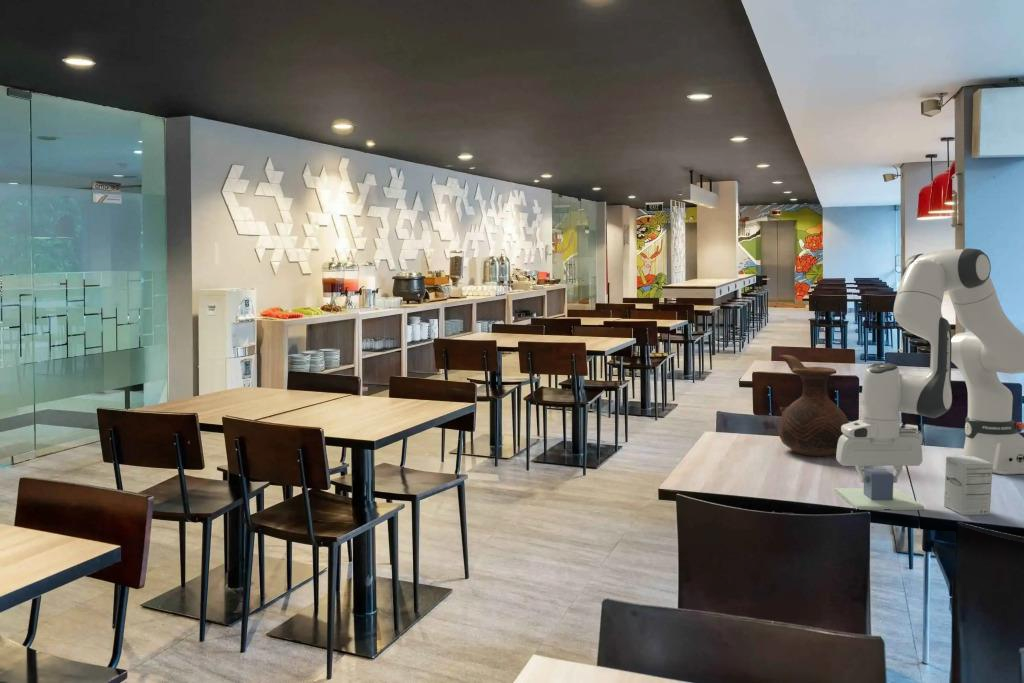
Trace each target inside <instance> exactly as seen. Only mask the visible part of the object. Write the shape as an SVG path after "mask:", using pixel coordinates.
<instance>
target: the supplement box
mask: <svg viewBox="0 0 1024 683" xmlns="http://www.w3.org/2000/svg"><path fill="white" fill-rule="evenodd" d="M992 468H993V463H990V462H987V461H985V460H982V459H979V458H977V457H974V456H962V455H960V456H959V455H956V456H955V455H954V456H953V455H952V456H946V457H945V476H944V477H945V478H944V480H945V481H944V494H943V507H945V508H948V509H950V510H952V511H954V512H956V513H958V514H959V515H962V516H975V515H976V516H977V515H980V516H981V515H990V514H991V502H992V500H991V499H992V486H993V485H992V484H993V482H992V481H993V472H992Z"/></svg>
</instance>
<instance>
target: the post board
mask: <svg viewBox="0 0 1024 683" xmlns="http://www.w3.org/2000/svg"><path fill="white" fill-rule="evenodd" d="M835 491H836V492H837V493H836V492H835ZM834 492H835V493H836V494H838V495H839V496H840V497H841V498H842V497H843V498H844V499H843V498H842V499H843V500H845V502H847V501H848V502H849V503H850V506H852V507H853V506H854V507H855V508H856V509H855V508H854V507H853V508H854V509H855V510H857V509H859V510H865V511H870V510H871V511H872V510H873V511H878V510H879V511H885V510H884V509H891V510H890V511H925V506H924V505H922V504H920V503H919V502H918V501H917V500H915V499H913V498H912V497H911V496H909V495H907V494H906V493H904V492H903V491H902V490H900V489H899V488H895V487H893V500H871V499H869V498H868V497H867V496H865V495H864V487H834ZM848 502H847V503H848ZM849 503H848V504H849ZM859 510H858V511H859Z"/></svg>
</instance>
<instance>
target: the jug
mask: <svg viewBox="0 0 1024 683" xmlns="http://www.w3.org/2000/svg"><path fill="white" fill-rule="evenodd" d="M779 359H780V360H782V361H784V362H785V363H786V364H787V365H788V367H789V369H790V370H791V372H792V373H793V374H795V375H798V376H799V377H800V378H801V379H800V380H801V381H802V386H803V387H802V389H803V390H802V394H801V396H800V397H799V398H797V399H796V400H794V401H793V402H791V404H790V405H789V406H786V407H785V406H784V407H781V406H780V407H779V409H780V413H781V418H780V422H779V425H778V428H777V429H778V437H779V438H780V440H781V442H782V444H783V445H785V446H786V447H787V448H789V449H790V450H793V451H795V453H797V454H799V453H800V455H805V456H813V457H827V456H832V455H835V454H836V452H837V444H838V440H839V438H840V436H841V435H843V433H842V431H841V426H842V425H844V424H847V423H850V422H849V420H848V418H847V416H846V414H845V413H844V411H843V410H842V409H841V408H840V407H839V406H838V405H837V404H836V403H835V402H834V401H832V400H831V399H830V398H829V395H828V391H827V388H828V387H827V384H828V379H829V377H830V376H832V375H835V374H837V369H835V368H832V367H824V366H805V365H804V363H803V362H801V361H800V360H799V359H798V358H797V357H795V356H793V355H790V354H789V355H788V354H781V355H779Z"/></svg>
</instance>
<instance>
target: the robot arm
mask: <svg viewBox="0 0 1024 683" xmlns="http://www.w3.org/2000/svg"><path fill="white" fill-rule="evenodd" d="M991 270H992V269H991V262H990V257H989V256H988V255H987V254H986V253H985V252H984V251H983V250H981V249H978V248H969V247H968V248H965V249H960V248H959V249H956V248H955V249H954V248H953V249H942V250H939V251H931V252H927V253H918V254H915V255H911V256H910V257H909V258H908V259H907V260H906V261H905V262H904V264H903V266H902V270H901V275H902V278H901V279H900V282H899V285H898V289H897V292H896V295H895V299H894V304H893V312H892V313H893V317H894V319H895V321H896V322H897V324H898V325H899V326H900V327H901V328H903V329H904V330H905V331H906V332H908V333H910V334H912V335H915V336H916V337H919V338H922V339H924V340H926V341H928V343H929V344H930V366H929V373H928V374H927V375H925V376H922V375H920V376H919V375H912V374H911V375H910V374H909V375H908V374H904V373H900V369H899V366H898V365H896V364H893V363H890V362H879V363H878V362H877V363H871V364H870V365H868V366H867V367H866V368H865V370H864V373H863V374H864V375H863V380H862V387H861V389H862V390H861V400H862V406H863V407H862V411H861V415H860V417H861V418H860V419H857V420H854V421H850V422H849V423H847V424H844V425H842V426H841V431H842V433H843V435H841V436H840V438H839V440H838V444H837V452H836V453H835V454H836V455H835V456H836V457H835V459H836V461H837V462H838V463H839V464H840V465H842V466H844V467H845V466H846V467H847V466H849V467H851V466H852V467H854V466H855V470H856V471H857V473H858V475H859V482H860V484H861V483H862V484H864V483H868V476H867V475H864V471H863V470H864V469H865V467H866V466H867V467H868V466H869V467H870V466H871V467H874V466H877V467H881V466H883V467H886V466H887V467H888V466H889V467H893V468H894V470H893V471H892V472H891V473H892V474H894V476H893V484H897V483H898V477H899V476H900V474H901V473H902V472H903V467H919V466H920V465H921V464H922V463H923V449H922V443H923V432H921V431H920V430H918V429H917V428H913V427H911V428H901V427H900V424H901V423H900V422H901V421H900V420H901V419H900V418H901V415H900V413H905V414H914V415H919V416H923V417H927V418H931V419H937V418H939V417H941V416H943V415H944V414H946V413H948V412H949V411H950V409H951V407H952V402H953V393H952V391H953V390H952V364H954V365H955V367H957V368H958V370H959V371H960V373H961V375H962V377H963V379H964V380H963V381H964V382H965V385H966V389H967V416H966V417H965V425H964V435H965V440H964V446H963V450H962V453H961V456H974V457H977V458H979V459H982V460H985V461H987V462H990V463H993V468H992V474H999V475H1019V474H1020V475H1021V474H1022V475H1023V474H1024V437H1023V436H1022V435H1021V434H1020V433H1018V429H1019V430H1020V431H1024V422H1020V421H1015V420H1014V419H1012V418H1013V416H1012V415H1013V402H1014V398H1013V397H1014V396H1013V394H1012V393H1013V392H1012V391H1011V390H1010V389H1009V388H1008V387H1007V386H1006V385H1004V384H1003V383H1002V382H1001V380H1000V378H999V377H998V374H997V373H1002V374H1003V373H1004V374H1012V375H1015V374H1018V375H1019V374H1024V333H1023V332H1022V331H1021V330H1020V329H1019V328H1018V327H1017V326H1015V324H1014V323H1013V322H1012V321H1011V320H1010V319H1009V318H1008V316H1007V315H1006V313H1005V312H1004V310H1003V307H1002V305H1001V303H1000V301H999V298H998V295H997V292H996V289H995V287H994V282H993V280H992V279H991V276H990V275H991ZM945 292H948V294H949V298H950V300H951V303H952V307H953V308H954V312H955V315H956V318H957V321H958V323H959V324H960V325H961V327H962V328H964V329H966V332H958V333H955V334H954V335H952V328H951V324H950V322H949V320H948V319H946V318H944V317H943V314H942V305H943V300H944V296H945Z"/></svg>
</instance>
